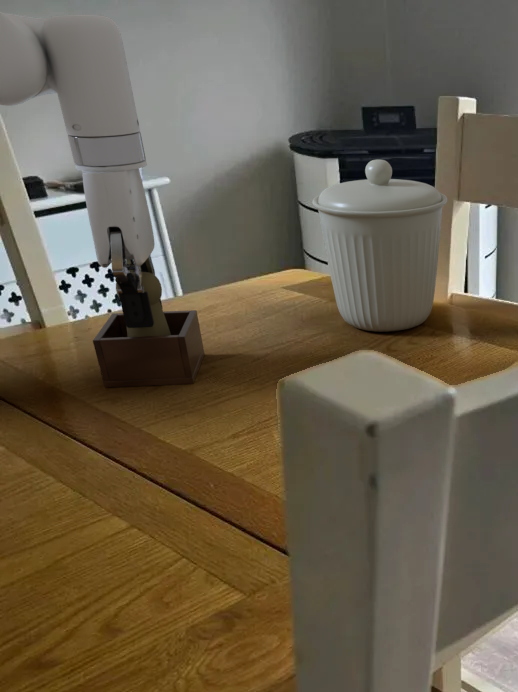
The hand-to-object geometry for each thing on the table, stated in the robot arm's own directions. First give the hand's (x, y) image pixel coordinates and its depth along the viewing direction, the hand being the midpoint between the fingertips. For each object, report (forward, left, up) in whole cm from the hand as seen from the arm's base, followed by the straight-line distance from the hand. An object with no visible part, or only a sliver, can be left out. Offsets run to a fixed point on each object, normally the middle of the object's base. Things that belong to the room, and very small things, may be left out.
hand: (144, 317), depth 101 cm
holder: (0, 0, -7) cm, 7 cm away
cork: (0, 0, -6) cm, 6 cm away
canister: (+30, +16, -7) cm, 35 cm away
